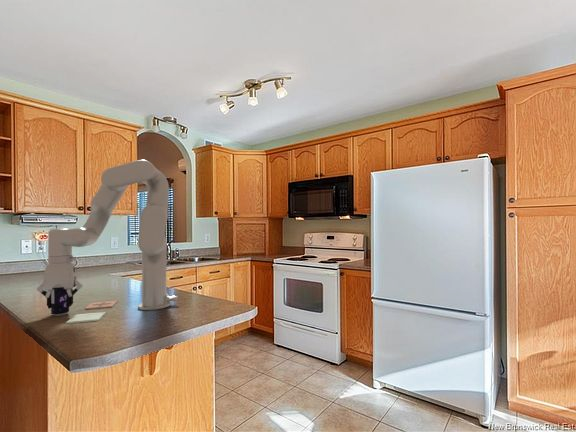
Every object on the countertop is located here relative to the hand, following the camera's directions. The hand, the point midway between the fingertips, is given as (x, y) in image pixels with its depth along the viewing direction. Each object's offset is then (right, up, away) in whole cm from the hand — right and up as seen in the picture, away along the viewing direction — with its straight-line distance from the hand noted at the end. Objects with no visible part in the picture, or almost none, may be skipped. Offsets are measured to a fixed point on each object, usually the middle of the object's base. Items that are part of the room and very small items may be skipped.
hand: (60, 306), depth 125 cm
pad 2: (+9, -3, +13) cm, 16 cm away
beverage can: (0, -3, 0) cm, 3 cm away
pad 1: (+14, -3, -6) cm, 16 cm away
